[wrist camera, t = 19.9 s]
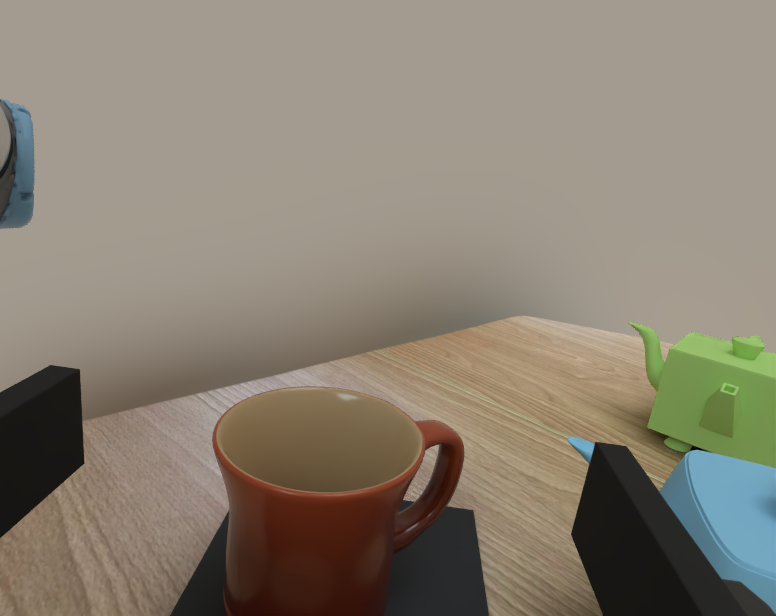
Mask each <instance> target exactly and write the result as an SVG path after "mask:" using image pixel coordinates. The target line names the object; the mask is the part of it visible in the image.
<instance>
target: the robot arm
mask: <svg viewBox="0 0 776 616" xmlns="http://www.w3.org/2000/svg"><path fill="white" fill-rule="evenodd" d="M33 190H34V139H33V125H32V120H31V114H30V112H29V111H28V110H27V108H25V107H24V106H22V105H19V104H14V103H10V102H9V101H7V100H3V99H0V229H1V228H20V227H23V226H25V225H27V224H28V223H29V222H30V220H31V218H32V215H33V206H34V194H33ZM80 387H81V385H80V370H79V369H74V368H67V367H59V366H53V365H50V366H48V367H46V368H44V369H43V370H41V371H39V372H37V373H35V374H34V375H32V376H30V377H28V378H26V379H24V380H22V381H21V382H19V383H17V384H15V385H13V386H11V387H10V388H8V389H6V390H4V391H2V392H1V393H0V538H1V537H2V536H3V535H4V534H5V533H6V532H8V531H9V530H10V529H11V528H12V527H13V526H14V525H15V524H17V523H18V522H19V521H20V520H21V519H22V518H23V517H24V516H26V515H27V514H28V513H29V512H30V511H31V510H32V509H33V508H35V507H36V506H37V505H38V504H39V503H40V502H41V501H42V500H44V499H45V498H46V497H47V496H48V495H49V494H50V493H51V492H53V491H54V490H55V489H56V488H57V487H58V486H59V485H60V484H62V483H63V482H64V481H65V480H66V479H67V478H68V477H69V476H71V475H72V474H73V473H74V472H75V471H76V470H77V469H78V468H80V467H81V466H82V465H83V464H84V448H83V427H82V407H81V388H80ZM571 535H572V538H573V541H574V543H575V546H576V548H577V551H578V553H579V556H580V558H581V561H582V563H583V566H584V568H585V571H586V573H587V576H588V578H589V581H590V583H591V586H592V588H593V591H594V593H595V596H596V598H597V601H598V603H599V606H600V608H601V611H602V613H603V616H776V614H775V613H774V611H773V610H772V609H771V607H770V606H769V605H768V604H766V603H765V602H764V601H763V600H762V599H761V598H759V597H758V596H757V595H756V594H755V593H753V592H752V591H751V590H750V589H749V588H747V587H746V586H745V585H744V584H743V583H742V582H740V581H733V580H726V579H721V577H720V576H719V575H718V573H717V572H716V570H715V569H714V568H713V566H712V565H711V564H710V562H709V561H708V559H707V558H706V557H705V555H704V554H703V552H702V551H701V550H700V548H699V547H698V545H697V544H696V543H695V541H694V540H693V538H692V537H691V536H690V534H689V533H688V531H687V530H686V529H685V527H684V526H683V524H682V523H681V522H680V520H679V519H678V517H677V516H676V515H675V513H674V512H673V510H672V509H671V508H670V506H669V505H668V504H667V502H666V501H665V499H664V498H663V497H662V495H661V494H660V492H659V491H658V490H657V488H656V487H655V485H654V484H653V483H652V481H651V480H650V478H649V477H648V476H647V474H646V473H645V471H644V470H643V469H642V467H641V466H640V464H639V463H638V462H637V460H636V459H635V457H634V456H633V455H632V453H631V452H630V451H629V449H628V448H627V446H621V445H614V444H607V443H600V442H595V445H594V449H593V453H592V457H591V461H590V465H589V468H588V472H587V476H586V480H585V484H584V487H583V491H582V495H581V499H580V503H579V506H578V510H577V514H576V518H575V522H574V526H573V529H572V533H571Z"/></svg>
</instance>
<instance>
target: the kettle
mask: <svg viewBox="0 0 776 616" xmlns="http://www.w3.org/2000/svg"><path fill="white" fill-rule="evenodd" d="M629 324H630V325H631V326H633V327H634V328H635V329H636V330H637V331H638V332H639V334H640V335H641V337H642V339H643V342H644V345H645V356H646V372H647V376H648V379H649V381H650V383H651V385H652V386H653V387H654V389H655V390H656V391H657V394H656V398H655V401H654V405H653V408H652V412H651V415H650V419H649V422H648V426H647V428H649V429H652V430H655V431H657V432H660V433H662V434H665V435H668V436H669V437H668V438H667V439H666V440H664V444H665V445H666V446H668V447H669V448H671V449H673V450H676V451H680V452H688V451H690V449H691V448H692V446H693V445H694V446H696V447H699V448H702V449H704V450H707V451H709V452H712V453H715V454H719V455H724V456H728V457H732V458H737V459H741V460H745V461H749V462H753V463H757V464H761V465H765V466H769V467H773V468H776V354H774V353H770V352H766V351H763V349H764V348H765V344H763V343H762V338H761V337H758V336H749V337H748V338H746V337H739V336H737V337H733V338H732V342H728V341H725V340H721V339H717V338H713V337H709V336H706V335H702V334H697V333H694V332H691V333H689V334H688V335H687V336H686V337H684V338H683V339H682V340H680V341H679V342H678V343H676V344H675V345H674V346H673V347H671V348H670V349H669V352H668V355H667V359H666V362H664V360H663V358H662V355H661V349H660V342H659V339H658V336H657V334H656V333H655V332H654V331H653V330H652V329H651V328H649V327H646V326H644V325H640V324H636V323H632V322H629Z"/></svg>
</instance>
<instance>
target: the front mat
mask: <svg viewBox="0 0 776 616" xmlns="http://www.w3.org/2000/svg"><path fill="white" fill-rule="evenodd" d="M413 503H414V502H412V501H405V500H402V503H401V505H400V508H399V511H398V512H401V511H403V510H405V509H406V508H408V507H409V506H411V505H412V504H413ZM228 525H229V512H228V513H227V515H226V517H225V519H224V521H223V522H222V524H221V526H220V528H219V529H218V531H217V533H216V535H215V537H214V538H213V540H212V542H211V544H210V545H209V547H208V549H207V551H206V553H205V554H204V556H203V558H202V560H201V562H200V563H199V565H198V567H197V569H196V570H195V572H194V574H193V576H192V578H191V579H190V581H189V583H188V585H187V586H186V588H185V590H184V592H183V594H182V595H181V597H180V599H179V601H178V603H177V604H176V606H175V608H174V610H173V611H172V613H171V615H170V616H225V608H224V604H223V584H224V579H225V559H226V544H227V534H228ZM384 616H489V614H488V608H487V601H486V594H485V587H484V580H483V573H482V567H481V560H480V553H479V546H478V539H477V533H476V526H475V519H474V512H473V510H468V509H461V508H454V507H446V508H445V510H444V511H443V512H442V514H441V515H440V516H439V517H438V519H437V520H436V521H435V522H434V523H433V524H432V525H431V526H430V527H429V528H428V529H426V530H425V531H424V532H423V533H422V534H421V535H419V536H418V537H417V538H416V539H415V540H414V541H413V542H412V543H411V544H409V545H408V546H407V547H406V548H404V549H403V550H401V551H400V552H398V553H396V554H394V555H393V558H392V566H391V573H390V580H389V596H388V601H387V605H386V608H385V611H384Z"/></svg>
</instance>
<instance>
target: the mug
mask: <svg viewBox="0 0 776 616" xmlns="http://www.w3.org/2000/svg"><path fill="white" fill-rule="evenodd" d="M212 441H213V449H214V452H215V456H216V459H217V462H218V464H219V467H220V470H221V473H222V476H223V479H224V483H225V486H226V490H227V494H228V500H229V525H228V534H227V544H226V559H225V579H224V584H223V604H224V608H225V616H384V611H385V608H386V605H387V601H388V596H389V580H390V573H391V566H392V558H393V555H394V554H396V553H398V552H400V551H401V550H403V549H404V548H406V547H407V546H408V545H409V544H411V543H412V542H413V541H414V540H415V539H416V538H417V537H418V536H419V535H421V534H422V533H423V532H424V531H425V530H426V529H428V528H429V527H430V526H431V525H432V524H433V523H434V522H435V521H436V520H437V519H438V517H439V516H440V515H441V514H442V512H443V511H444V510H445V508H446V507H447V505H448V503H449V502H450V500H451V498H452V496H453V494H454V492H455V490H456V487H457V484H458V482H459V478H460V475H461V471H462V467H463V461H464V445H463V442H462V439H461V438H460V436H459V435H458V434H457V433H456V432H455V431H454V430H453V429H452V428H450V427H449V426H448V425H446V424H445V423H442V422H440V421H436V420H424V421H414V420H413V419H412V418H411V417H410V416H408V415H407V414H406V413H405V412H403V411H402V410H400V409H399V408H397V407H396V406H394V405H393V404H391V403H389V402H387V401H384V400H382V399H379V398H376V397H373V396H370V395H367V394H363V393H359V392H355V391H351V390H345V389H339V388H331V387H291V388H283V389H277V390H272V391H268V392H264V393H260V394H257V395H254V396H252V397H249V398H247V399H245V400H243V401H241V402H239V403H237V404H236V405H234V406H233V407H231V408H230V409H229V410H227V411H226V412H225V413H224V414H223V415H222V416H221V418H220V419H219V420H218V422H217V424H216V426H215V428H214V432H213V438H212ZM438 444H439V450H438V455H437V459H436V463H435V467H434V470H433V473H432V476H431V478H430V481H429V483H428V485H427V487H426V488H425V490H424V492H423V493H422V494H421V496H420V497H419V498H418V499H417V500H416V501H415V502H414V503H413V504H412V505H411V506H409V507H408V508H406V509H405V510H403V511H401V512H398V511H399V508H400V505H401V503H402V500H403V498H404V496H405V494H406V492H407V490H408V488H409V486H410V484H411V482H412V480H413V478H414V476H415V474H416V473H417V471H418V469H419V467H420V465H421V463H422V460H423V457H424V454H425V450H427V449H428V448H430V447H432V446H435V445H438Z"/></svg>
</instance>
